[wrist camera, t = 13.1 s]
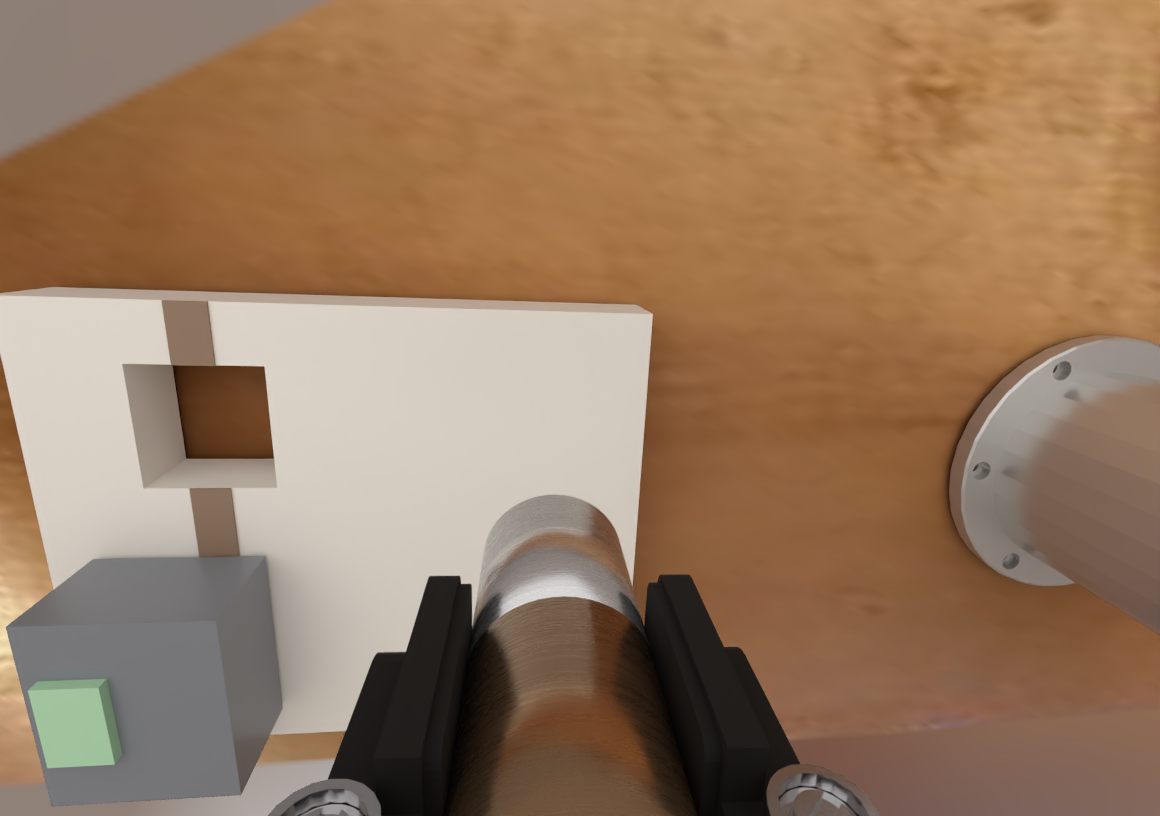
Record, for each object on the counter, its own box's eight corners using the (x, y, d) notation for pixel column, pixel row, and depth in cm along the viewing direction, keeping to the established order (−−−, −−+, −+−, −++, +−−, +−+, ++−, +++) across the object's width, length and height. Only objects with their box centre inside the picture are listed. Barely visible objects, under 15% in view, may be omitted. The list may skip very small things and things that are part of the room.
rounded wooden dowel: (625, 494, 14) (841, 1097, 4) (617, 616, 15) (778, 1345, 5) (483, 494, 13) (362, 1134, 4) (483, 618, 14) (383, 1395, 5)
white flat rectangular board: (636, 304, 25) (653, 314, 22) (611, 670, 30) (623, 718, 27) (54, 287, 22) (-16, 295, 19) (133, 690, 27) (86, 745, 24)
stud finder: (265, 555, 23) (210, 628, 19) (282, 707, 25) (236, 805, 21) (93, 558, 22) (-5, 635, 18) (124, 715, 24) (42, 817, 20)
